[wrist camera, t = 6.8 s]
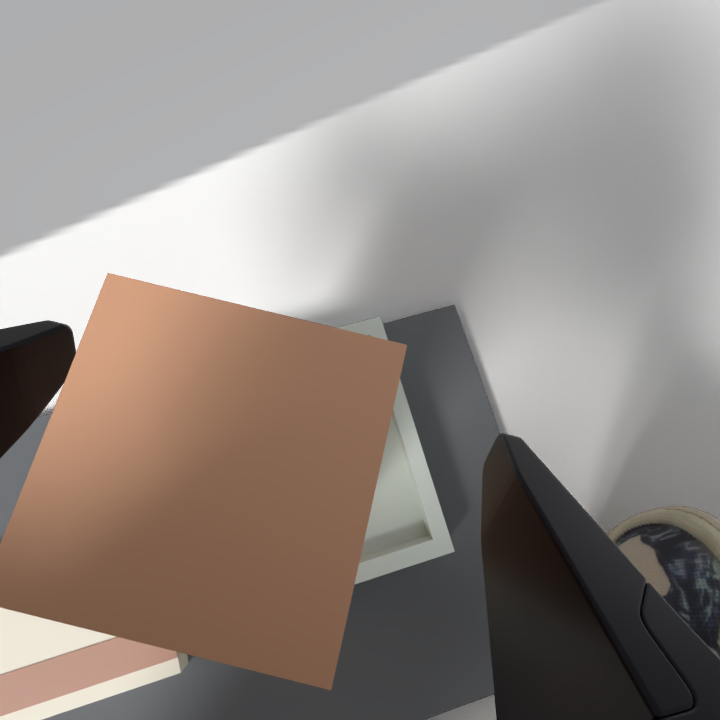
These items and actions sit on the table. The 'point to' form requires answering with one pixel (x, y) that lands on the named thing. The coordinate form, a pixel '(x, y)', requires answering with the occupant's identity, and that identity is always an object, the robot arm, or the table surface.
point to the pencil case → (678, 562)
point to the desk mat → (372, 597)
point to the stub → (205, 481)
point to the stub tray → (401, 494)
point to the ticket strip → (70, 666)
